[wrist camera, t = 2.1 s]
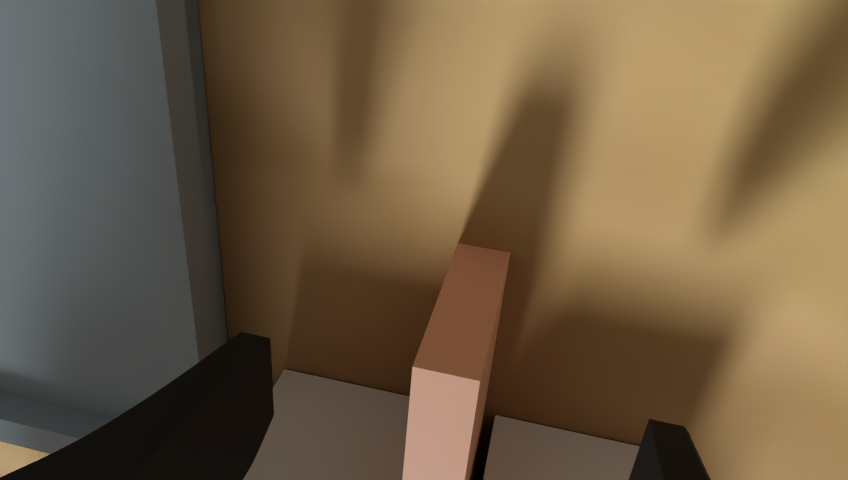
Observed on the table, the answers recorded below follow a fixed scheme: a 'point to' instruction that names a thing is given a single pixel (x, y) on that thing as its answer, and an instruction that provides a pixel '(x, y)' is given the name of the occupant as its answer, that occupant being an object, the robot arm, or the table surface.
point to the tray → (102, 212)
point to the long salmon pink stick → (455, 368)
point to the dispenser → (386, 438)
